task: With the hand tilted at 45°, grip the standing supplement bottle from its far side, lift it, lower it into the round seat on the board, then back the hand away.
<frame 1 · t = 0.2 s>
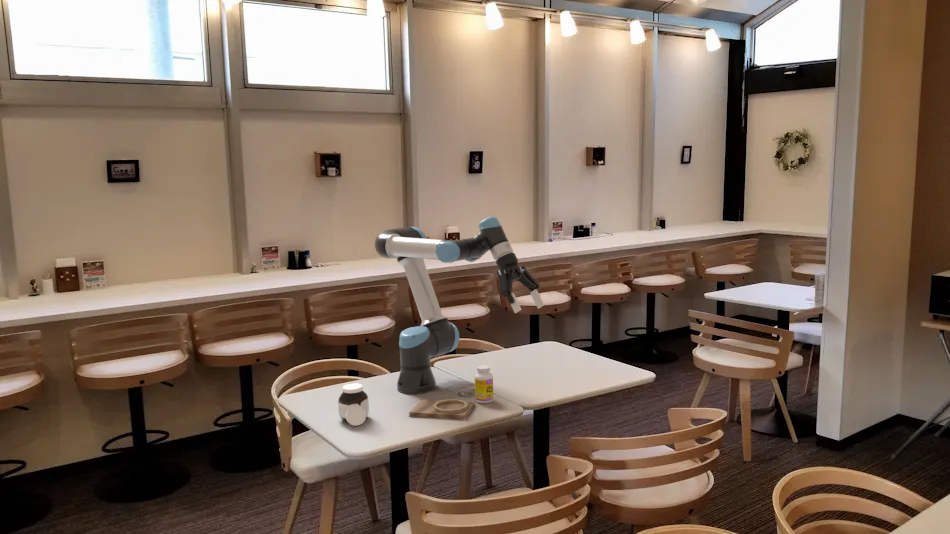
hand: (529, 309, 258), 35 cm above the table, tool tilted 35°, fingers open, 13 cm apart
supplement bottle: (484, 401, 267), on the table
spread jar: (355, 421, 251), on the table
seat board: (442, 411, 258), on the table
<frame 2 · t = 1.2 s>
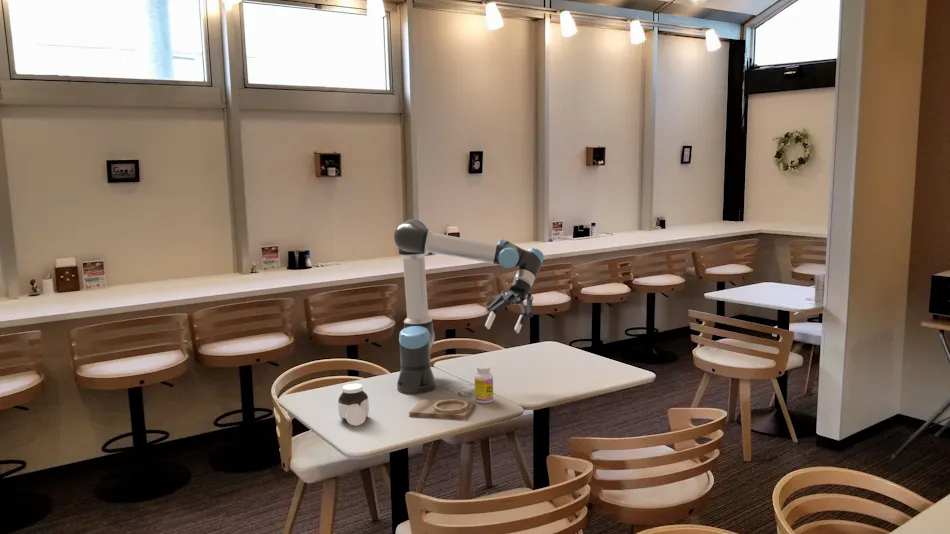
hand: (501, 329, 275), 24 cm above the table, tool tilted 45°, fingers open, 13 cm apart
nothing on the table moved.
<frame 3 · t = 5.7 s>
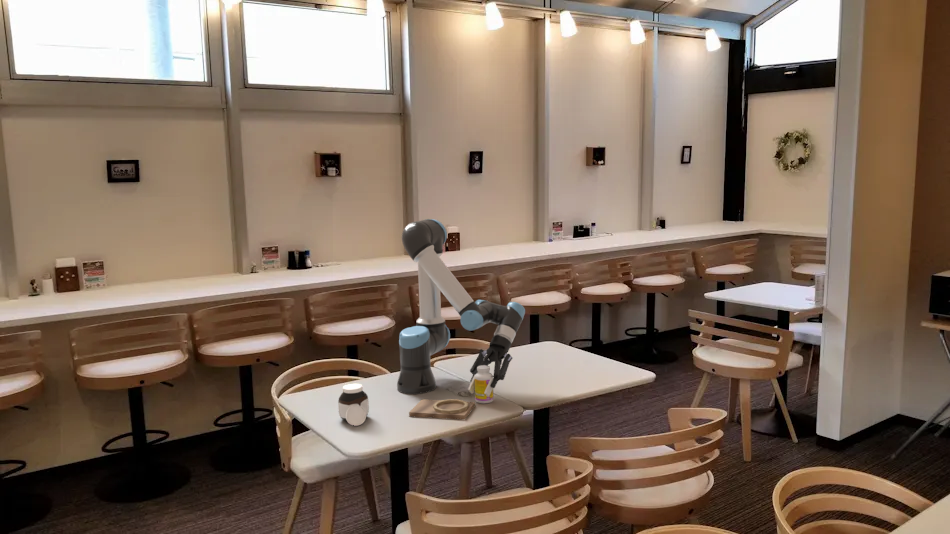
hand: (478, 393, 264), 4 cm above the table, tool tilted 45°, fingers closed on supplement bottle, 7 cm apart
supplement bottle: (484, 401, 267), on the table, touching gripper
everything else where it was.
when the fingers open (7 cm above the table, at t = 11.6 s): supplement bottle drops 1 cm, resting on seat board.
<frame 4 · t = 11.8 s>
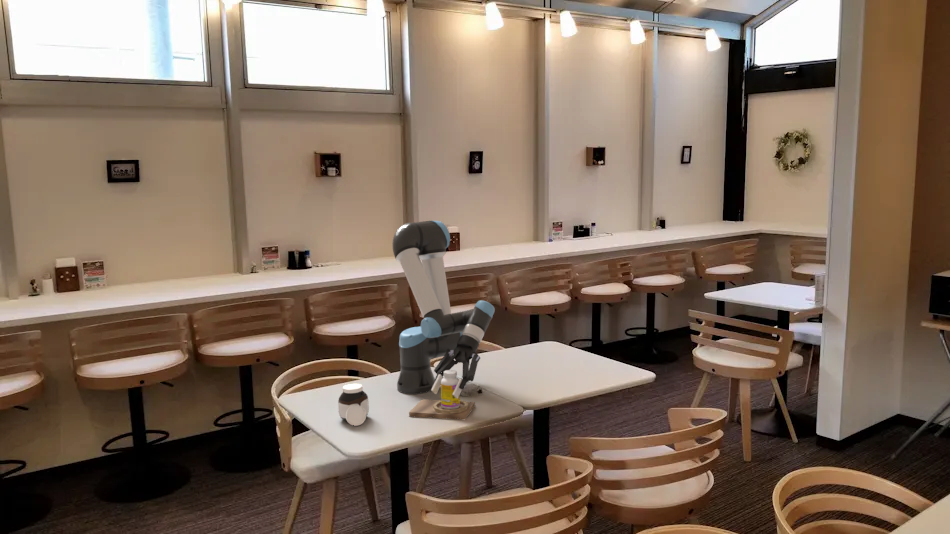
hand: (444, 394, 253), 7 cm above the table, tool tilted 45°, fingers open, 9 cm apart
supplement bottle: (450, 407, 257), point 1 cm above the table, touching seat board
everything else where it was.
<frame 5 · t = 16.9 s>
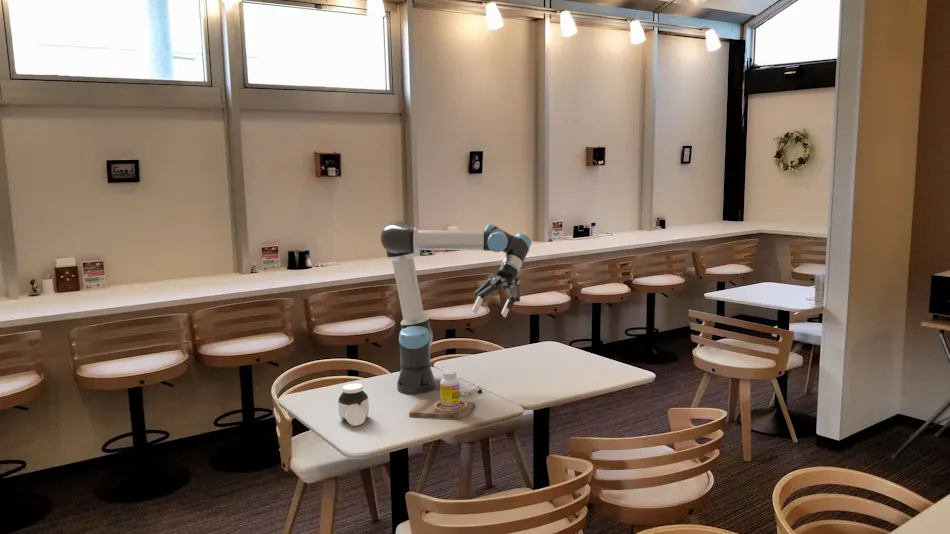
hand: (488, 313, 276), 30 cm above the table, tool tilted 45°, fingers open, 13 cm apart
nothing on the table moved.
at the end: supplement bottle 0.1 cm from the target spot on the seat board, point 1.3 cm above the seat board's base; supplement bottle tilted 0°; the gripper is holding nothing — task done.
